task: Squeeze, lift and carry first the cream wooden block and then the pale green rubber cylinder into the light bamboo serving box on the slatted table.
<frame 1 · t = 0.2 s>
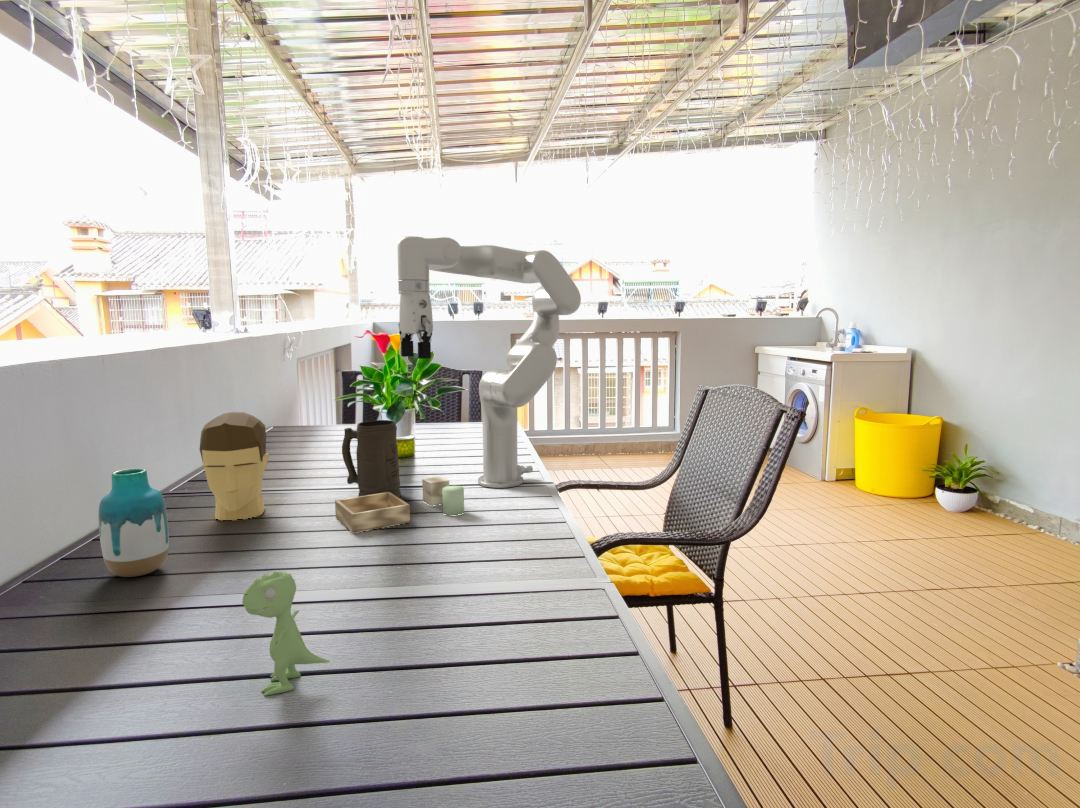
hand: (415, 357, 165), 36 cm above the table, tool pointing down, fingers open, 9 cm apart
head: (239, 516, 154), on the table
toy: (289, 684, 85), on the table
beer stein: (370, 498, 170), on the table
vase: (138, 574, 121), on the table
cream block: (436, 503, 164), on the table
serving box: (372, 520, 150), on the table
green cylinder: (453, 513, 156), on the table
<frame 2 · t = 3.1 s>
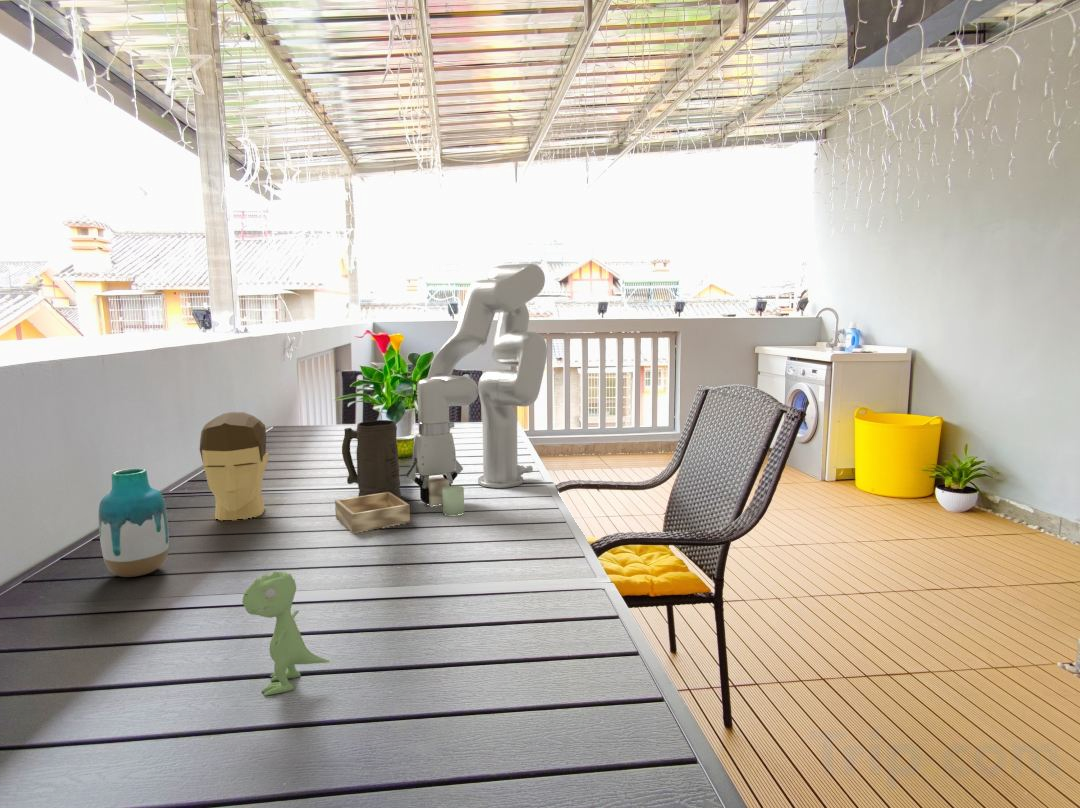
hand: (436, 499, 164), 1 cm above the table, tool pointing down, fingers closed on cream block, 5 cm apart
cream block: (436, 503, 164), on the table, touching gripper
everything else where it was.
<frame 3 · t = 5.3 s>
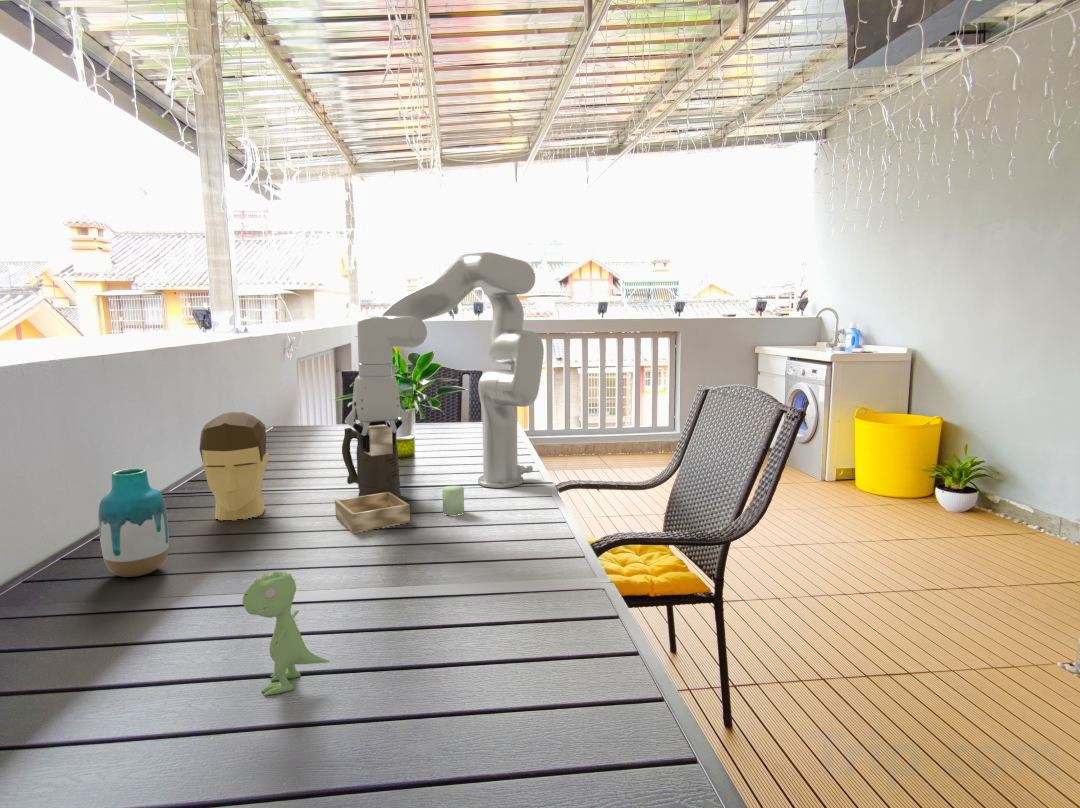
hand: (378, 449, 151), 16 cm above the table, tool pointing down, fingers closed on cream block, 4 cm apart
cream block: (378, 452, 151), point 15 cm above the table, touching gripper
everything else where it was.
when the fingers open (5 cm above the table, at t = 7.6 s): cream block drops 4 cm, resting on serving box.
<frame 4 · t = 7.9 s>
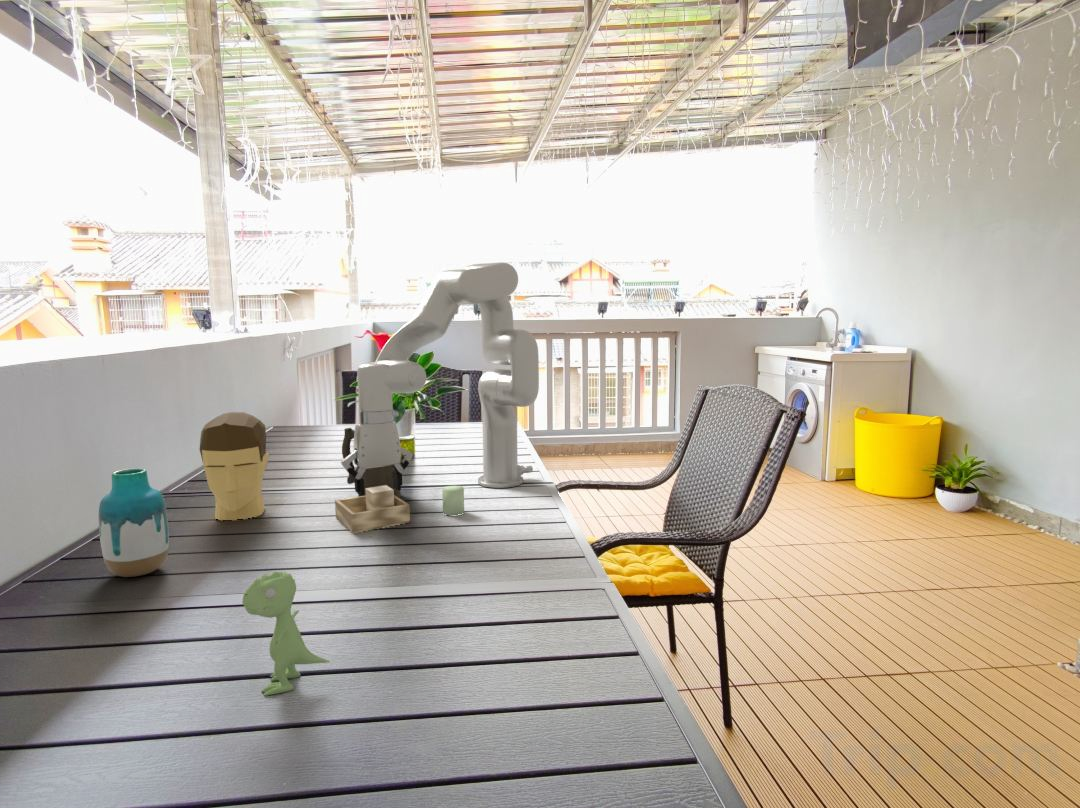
hand: (379, 491, 153), 6 cm above the table, tool pointing down, fingers open, 8 cm apart
cream block: (380, 514, 153), point 1 cm above the table, touching serving box
everything else where it was.
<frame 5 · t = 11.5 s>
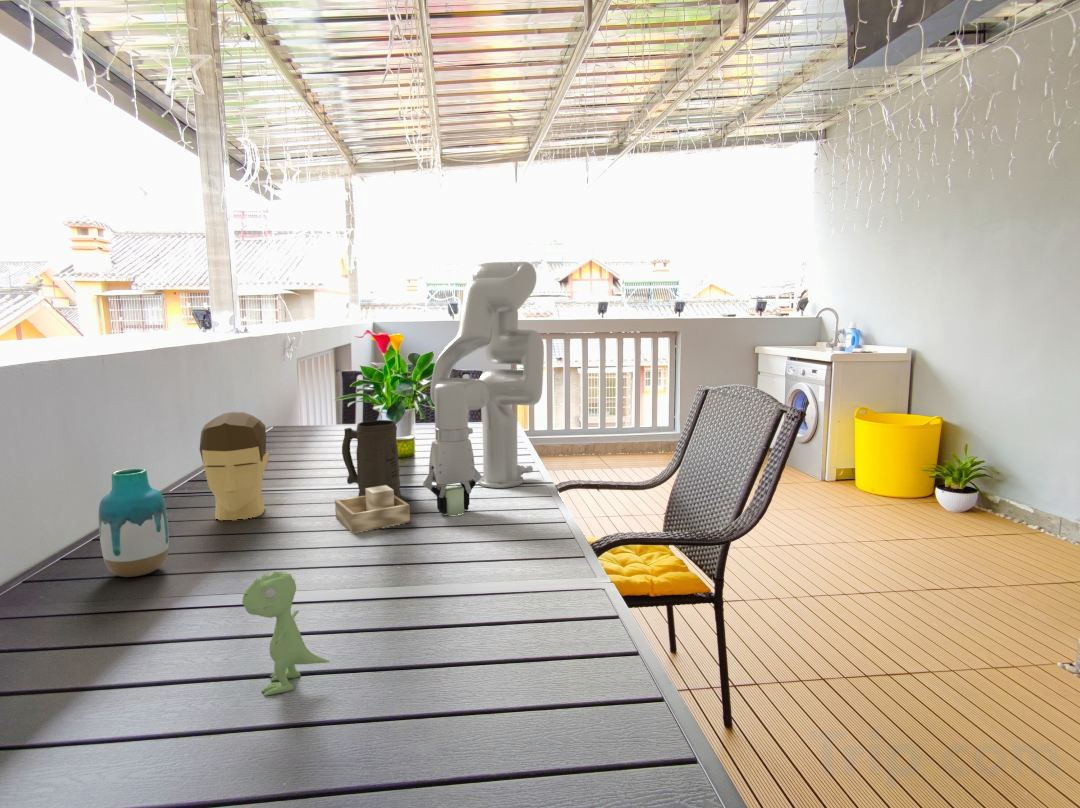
hand: (453, 509, 156), 1 cm above the table, tool pointing down, fingers closed on green cylinder, 4 cm apart
green cylinder: (453, 513, 156), on the table, touching gripper
everything else where it was.
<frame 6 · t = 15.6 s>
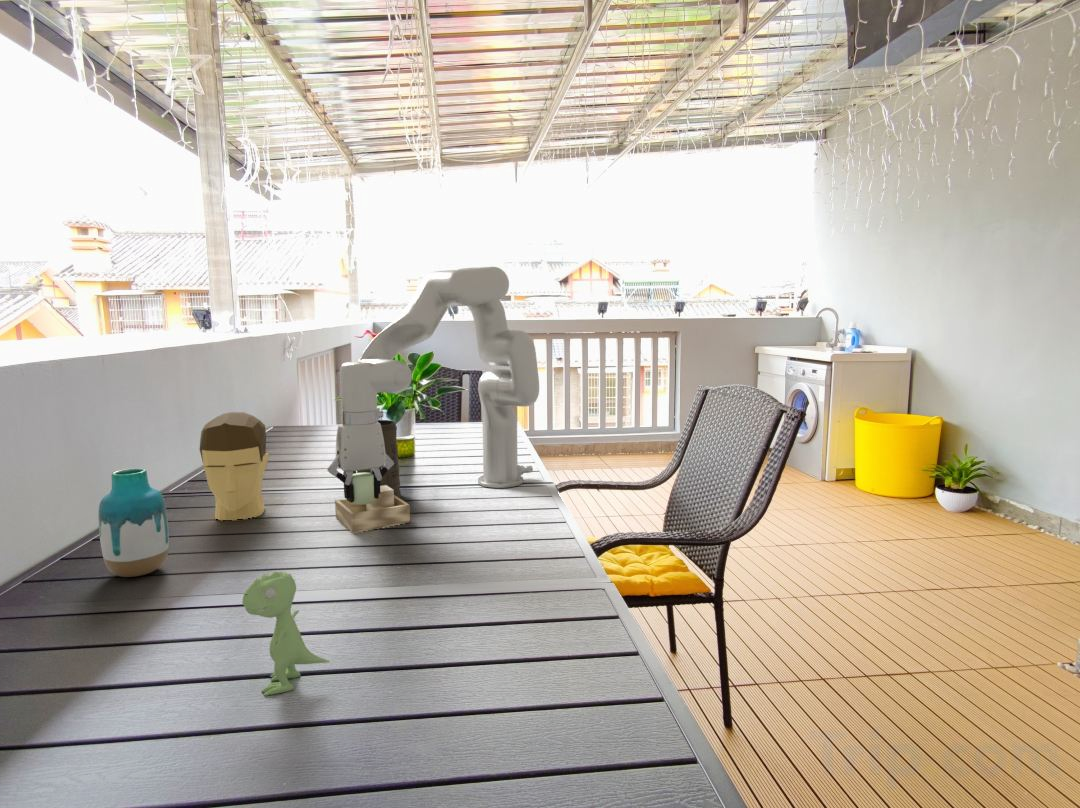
hand: (362, 498, 146), 6 cm above the table, tool pointing down, fingers closed on green cylinder, 4 cm apart
cream block: (380, 514, 153), point 1 cm above the table, touching gripper, serving box
green cylinder: (362, 501, 146), point 6 cm above the table, touching gripper
everything else where it was.
when the fingers open (5 cm above the table, at t = 16.2 s): green cylinder drops 4 cm, resting on serving box.
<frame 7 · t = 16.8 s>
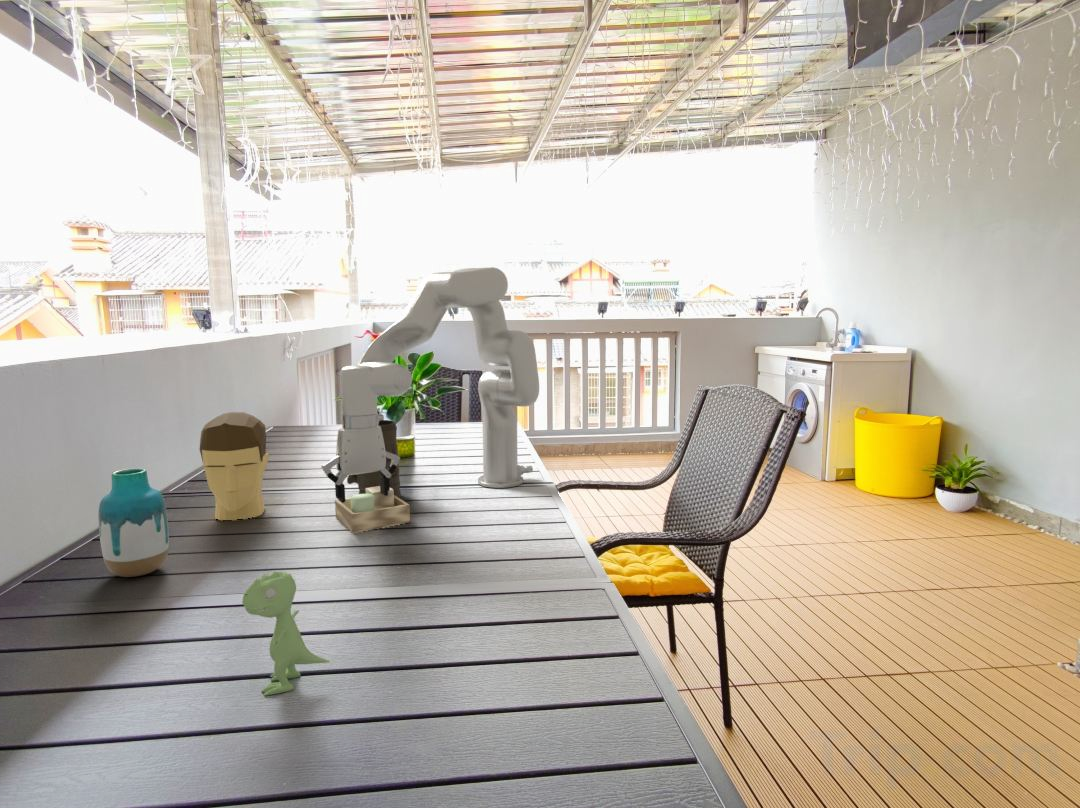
hand: (363, 497, 147), 6 cm above the table, tool pointing down, fingers open, 9 cm apart
green cylinder: (363, 522, 147), point 1 cm above the table, touching serving box
everything else where it was.
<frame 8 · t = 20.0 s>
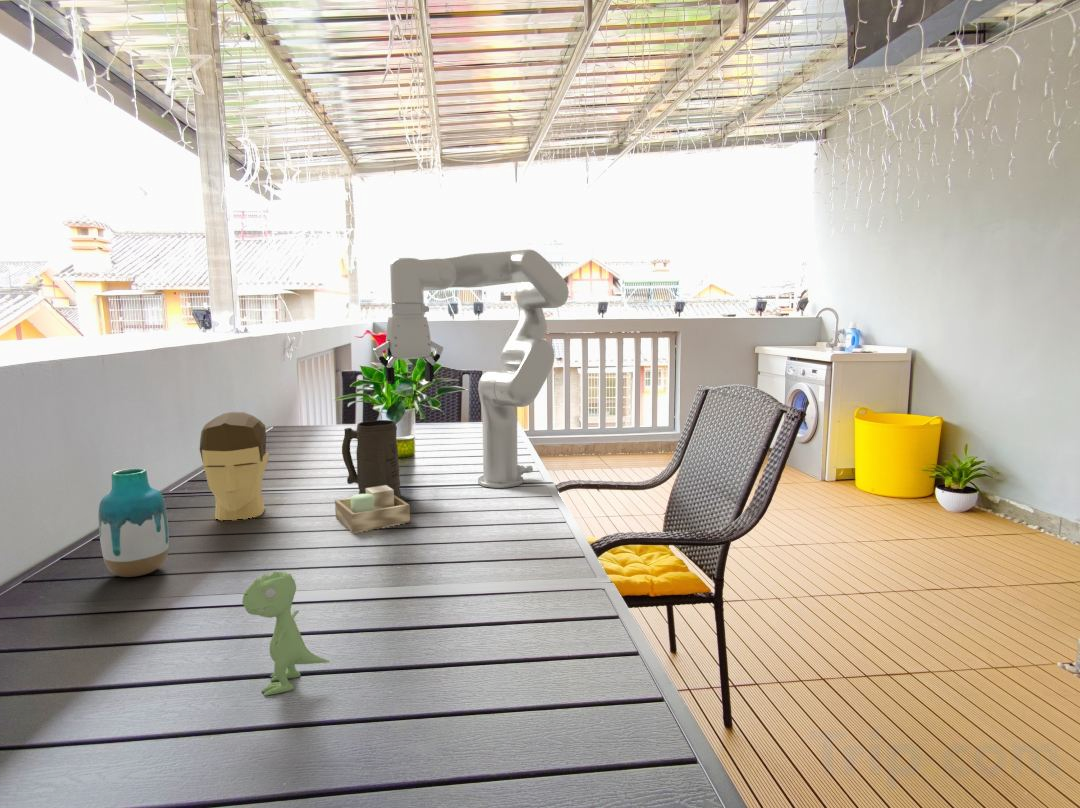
hand: (410, 382, 159), 30 cm above the table, tool pointing down, fingers open, 9 cm apart
cream block: (380, 514, 153), point 1 cm above the table, touching serving box
everything else where it was.
at the end: cream block inside the target area on the serving box (3.3 cm from its centre), point 0.6 cm above the serving box's base; green cylinder inside the target area on the serving box (3.5 cm from its centre), point 0.6 cm above the serving box's base; the gripper is holding nothing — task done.
